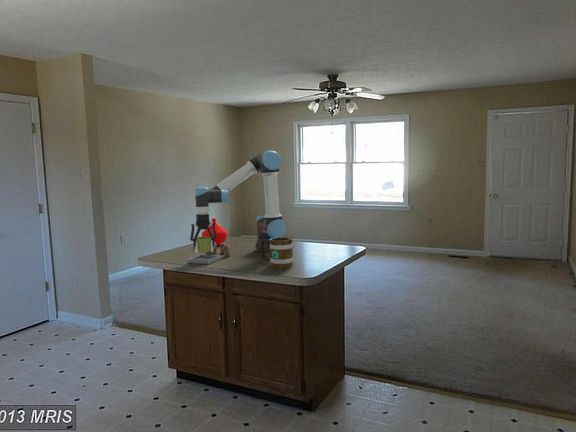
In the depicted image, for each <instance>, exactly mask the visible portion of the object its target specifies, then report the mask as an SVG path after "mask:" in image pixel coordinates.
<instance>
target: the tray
mask: <svg viewBox="0 0 576 432" xmlns="http://www.w3.org/2000/svg"><path fill="white" fill-rule="evenodd" d="M221 260H222V255H221V254H220V255H219V254H218V255H217V254H214V255H205V254H203V253H200V254H198V255H195V256H192V257H189V258H188V259H187V263H188V264H195V265H196V264H197V265H212V264H214V263H216V262H218V261H221Z"/></svg>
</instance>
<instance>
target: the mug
mask: <svg viewBox="0 0 576 432" xmlns="http://www.w3.org/2000/svg"><path fill="white" fill-rule="evenodd" d="M264 242H266V243H267V244H268V245H270V252H268V253H269V257H268V258H267V257H266V252H264ZM261 248H262V252H261V256H262V259H263V260H264V261H270V262H269V267H270V268H274V269H288V268H292V267H293V266H294V259H293V258H294V251H293V237H284V236H280V237H277V238H270V239H269V241H267V240H263V241H262V243H261Z"/></svg>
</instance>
